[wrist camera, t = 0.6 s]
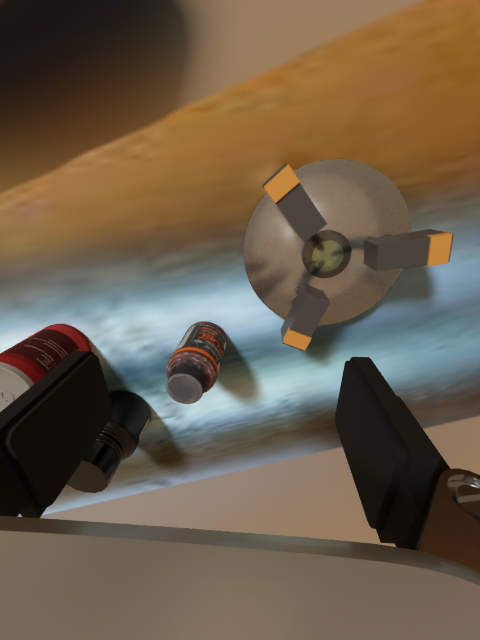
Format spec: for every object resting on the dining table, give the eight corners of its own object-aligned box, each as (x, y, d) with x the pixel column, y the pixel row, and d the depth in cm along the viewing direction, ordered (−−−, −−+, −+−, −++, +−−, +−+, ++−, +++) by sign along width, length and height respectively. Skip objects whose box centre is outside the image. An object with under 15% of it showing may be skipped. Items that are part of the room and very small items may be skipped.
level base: (432, 179, 27) (457, 176, 23) (366, 330, 35) (377, 345, 31) (261, 146, 27) (261, 138, 23) (233, 304, 35) (230, 316, 31)
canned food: (56, 367, 42) (-9, 419, 32) (35, 323, 39) (-44, 365, 29) (99, 366, 41) (47, 419, 31) (82, 320, 38) (17, 363, 28)
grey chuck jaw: (357, 259, 29) (377, 272, 24) (357, 236, 28) (378, 245, 23) (416, 251, 28) (450, 262, 23) (418, 226, 27) (455, 233, 22)
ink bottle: (116, 432, 47) (71, 501, 36) (89, 395, 44) (32, 459, 33) (162, 422, 45) (130, 493, 34) (138, 383, 42) (94, 447, 31)
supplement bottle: (234, 333, 37) (223, 385, 26) (214, 362, 39) (197, 420, 29) (197, 311, 36) (170, 356, 25) (179, 343, 38) (148, 396, 28)
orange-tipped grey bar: (300, 278, 30) (307, 294, 25) (320, 285, 30) (331, 303, 25) (279, 321, 33) (282, 344, 27) (297, 328, 33) (304, 352, 28)
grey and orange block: (316, 219, 27) (328, 223, 22) (296, 235, 28) (303, 243, 23) (282, 169, 26) (286, 162, 21) (262, 187, 27) (261, 184, 21)
